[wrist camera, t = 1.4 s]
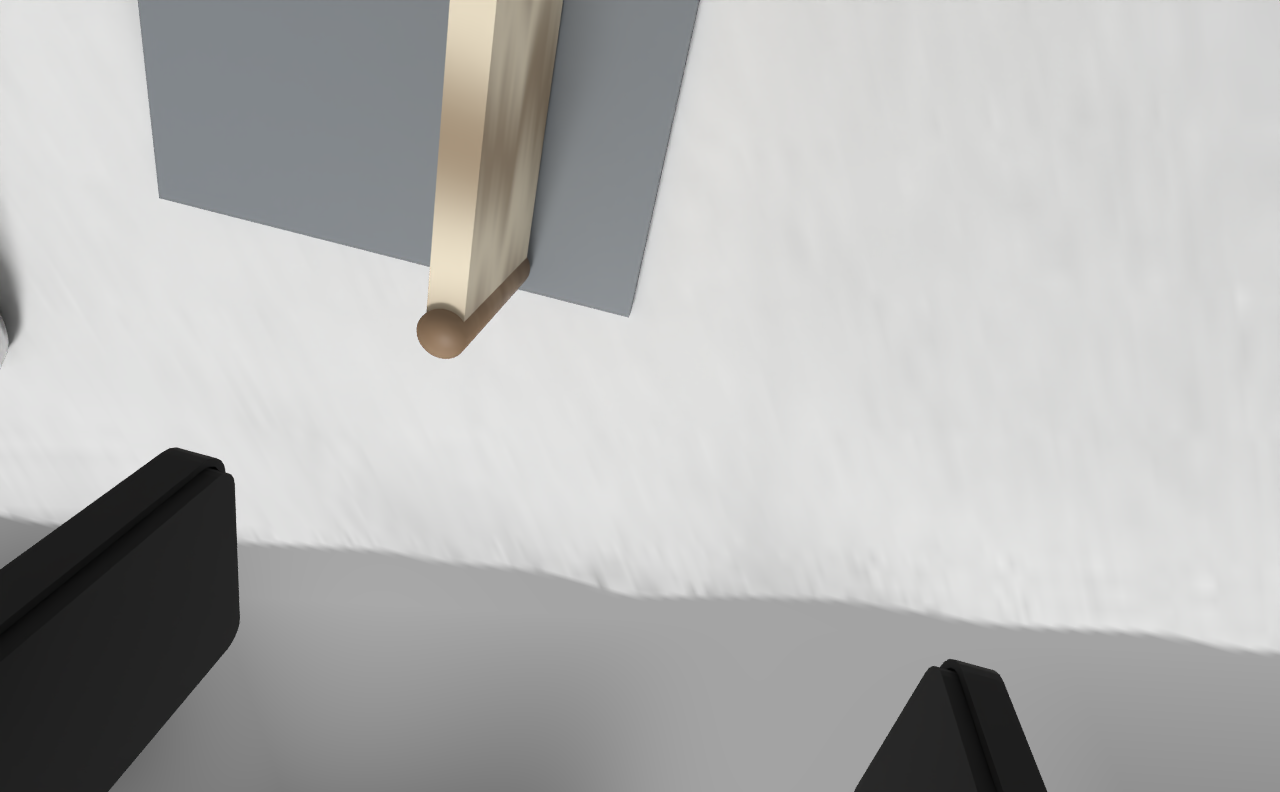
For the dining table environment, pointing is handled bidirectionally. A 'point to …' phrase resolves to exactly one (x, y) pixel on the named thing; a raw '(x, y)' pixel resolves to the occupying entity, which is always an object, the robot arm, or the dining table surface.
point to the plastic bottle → (3, 341)
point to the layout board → (410, 126)
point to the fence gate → (487, 163)
